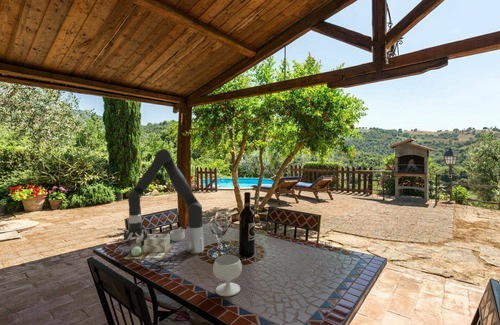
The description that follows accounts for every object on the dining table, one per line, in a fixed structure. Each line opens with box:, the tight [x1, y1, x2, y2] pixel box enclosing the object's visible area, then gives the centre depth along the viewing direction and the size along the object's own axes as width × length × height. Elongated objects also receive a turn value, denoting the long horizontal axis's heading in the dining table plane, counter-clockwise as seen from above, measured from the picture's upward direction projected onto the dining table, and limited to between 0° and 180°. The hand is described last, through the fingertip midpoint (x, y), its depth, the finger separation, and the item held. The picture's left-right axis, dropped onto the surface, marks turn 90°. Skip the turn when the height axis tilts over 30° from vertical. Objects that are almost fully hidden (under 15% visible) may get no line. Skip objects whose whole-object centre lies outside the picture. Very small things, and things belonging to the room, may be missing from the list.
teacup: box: [169, 228, 185, 242], centre depth 194 cm, size 14×11×8 cm
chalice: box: [212, 254, 243, 297], centre depth 121 cm, size 14×14×15 cm
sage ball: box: [130, 245, 141, 256], centre depth 161 cm, size 6×6×6 cm
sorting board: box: [123, 233, 176, 260], centre depth 167 cm, size 25×23×10 cm
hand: (135, 246), depth 161 cm, fingers open, 8 cm apart
